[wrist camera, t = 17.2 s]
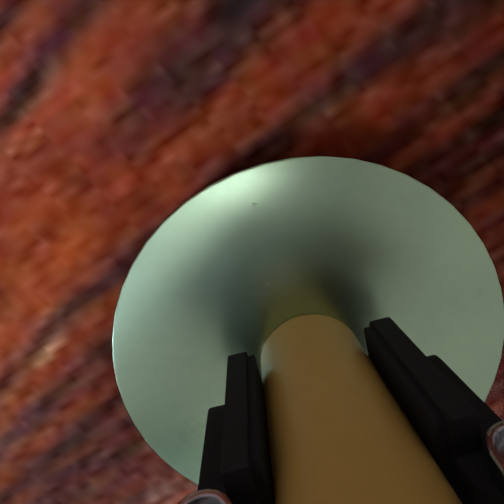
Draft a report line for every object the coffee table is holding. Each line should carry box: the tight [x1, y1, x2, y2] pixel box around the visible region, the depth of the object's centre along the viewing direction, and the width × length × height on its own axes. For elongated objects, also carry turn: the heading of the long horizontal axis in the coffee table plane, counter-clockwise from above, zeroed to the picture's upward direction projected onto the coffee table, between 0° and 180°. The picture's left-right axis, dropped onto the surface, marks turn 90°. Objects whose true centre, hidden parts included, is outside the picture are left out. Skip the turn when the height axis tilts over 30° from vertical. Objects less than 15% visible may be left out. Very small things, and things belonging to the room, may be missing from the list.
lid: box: [112, 156, 504, 504], centre depth 9 cm, size 13×13×8 cm
